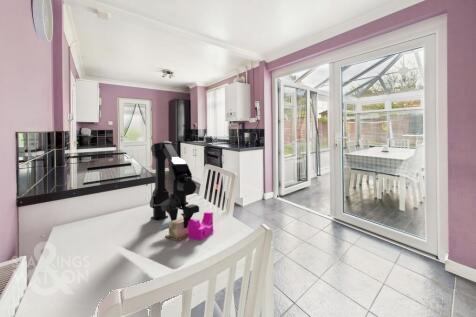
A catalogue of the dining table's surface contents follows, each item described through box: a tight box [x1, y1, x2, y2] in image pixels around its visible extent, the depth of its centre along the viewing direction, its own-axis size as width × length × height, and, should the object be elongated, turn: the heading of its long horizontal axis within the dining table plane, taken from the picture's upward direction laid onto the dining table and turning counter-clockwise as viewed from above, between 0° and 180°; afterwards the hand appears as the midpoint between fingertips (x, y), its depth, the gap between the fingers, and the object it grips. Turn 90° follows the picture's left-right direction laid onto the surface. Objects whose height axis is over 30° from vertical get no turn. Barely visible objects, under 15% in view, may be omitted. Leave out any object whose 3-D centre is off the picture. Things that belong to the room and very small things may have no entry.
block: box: [168, 217, 188, 238], centre depth 92 cm, size 5×7×6 cm
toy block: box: [187, 211, 214, 241], centre depth 95 cm, size 15×6×8 cm, turn 159°
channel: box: [160, 217, 179, 229], centre depth 103 cm, size 10×10×2 cm
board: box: [164, 234, 188, 242], centre depth 93 cm, size 8×10×1 cm
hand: (179, 226), depth 93 cm, fingers open, 7 cm apart
